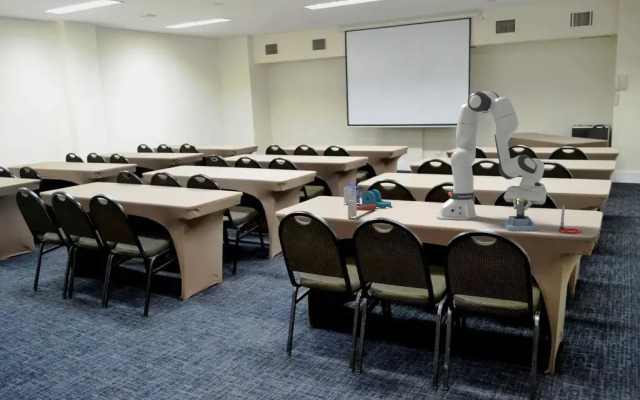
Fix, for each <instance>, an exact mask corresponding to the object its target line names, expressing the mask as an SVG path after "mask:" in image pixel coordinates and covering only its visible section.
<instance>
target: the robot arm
mask: <svg viewBox="0 0 640 400" xmlns="http://www.w3.org/2000/svg"><path fill="white" fill-rule="evenodd" d="M486 113H490V114H491V115H492V117H493V119H494V124H495V135H494V142H495V147H496V153H497V159H498V171H499V174H500V175H501V177H502V178H503V179H506V180H508V181H509V180H513V179H515V178H517V177H519V176H520V177H522V178H521V180H520V183H519V184H518V185H511V186H508V187H507V189H506V191H505V193H504V195H503V199H504V200H505V202H507V203H508V202H509V203H513V207H512V208H513V209H514V210H517V198H525V205H524V207H523V209H524V210H525V211H528V208H529V207H531V206H533V205H544V204H545V203H546V199H547V188H546V186H545V185H544V183H542V182H540V181H541V180H542V178H543V176H544V172H545V164H544V163H545V162H543V161H542V160H541V159H539V158H531V157H530V156H528V155H527V154H520V155H517V156H515V157H513V158H511V155H510V150H509V141H510V139H511V137H512V136H513V135H514V134H515V133H516V131H517V130H518V127H519V118H518V116H517V113H516V110H515V107H514V105H513V104H512V101H511V100H510V99H509V98H508V97H506V96H499V94H497V93H496V92H494V91H488V90H483V91H481V90H480V91H479V90H478V91H475V92H473V93H471V94H470V95H469V97H468V99H467V103H464V104H462V105H461V106H460V109H459V112H458V116H457V123H456V124H457V125H456V131H455V146H456V147H455V150H454V152H453V153H451V156H450V164H451V171H452V172H451V173H452V181H453V183H452V184H453V185H452V187H453V188H452V189H453V191H449V192H448V196H449V199H448V200H446V201H445V202H444V203H442V204H441V205H440V208H439V212H437V213H435V218H436V217H437V219H438V218H439V220H459V221H460V220H461V221H462V220H463V221H464V220H467V221H468V220H469V219H470V220H471V219H475V218H476V217H477V213H476V209H475V191H474V182H475V181H474V180H475V179H474V176H473V175H474V173H473V166H472V165H473V164H474V163H475V161H476V150H477V134H478V126H479V120H480V119H479V118H480V115H481V114H486Z"/></svg>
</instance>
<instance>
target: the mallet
mask: <svg viewBox="0 0 640 400" xmlns="http://www.w3.org/2000/svg"><path fill="white" fill-rule="evenodd" d="M374 209H375V210H376V209H377V208H376V205H375V204H372V205H364V206H362V205H360V206H358V205H357V201H351V200H350V201H348V205H347V217H354V216H356V217H357V211H365V212H366V211H367V212H369V211H370V210H372V211H375V210H374Z"/></svg>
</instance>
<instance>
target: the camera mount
mask: <svg viewBox="0 0 640 400" xmlns="http://www.w3.org/2000/svg"><path fill="white" fill-rule="evenodd" d="M372 204H375V205H376V207H379V208H378V209H387V208H386V207H390V208H392V202H391V201H388V200H387V201H386V200H382V194H381V192H380V191H379V190H378V189H371V190H367V191H365V192H364V193H363V194H362V196H361V206H364V205H372Z"/></svg>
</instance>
